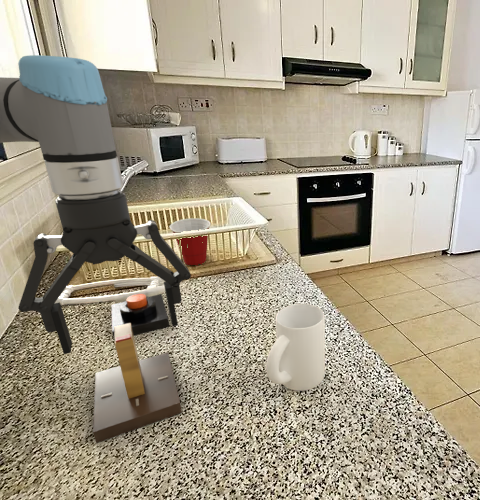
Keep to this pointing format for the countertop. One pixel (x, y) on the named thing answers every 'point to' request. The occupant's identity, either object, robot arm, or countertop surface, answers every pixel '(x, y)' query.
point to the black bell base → (141, 316)
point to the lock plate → (134, 399)
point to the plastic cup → (192, 240)
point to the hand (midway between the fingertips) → (124, 334)
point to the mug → (298, 348)
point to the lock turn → (129, 360)
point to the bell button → (136, 301)
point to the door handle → (150, 291)
